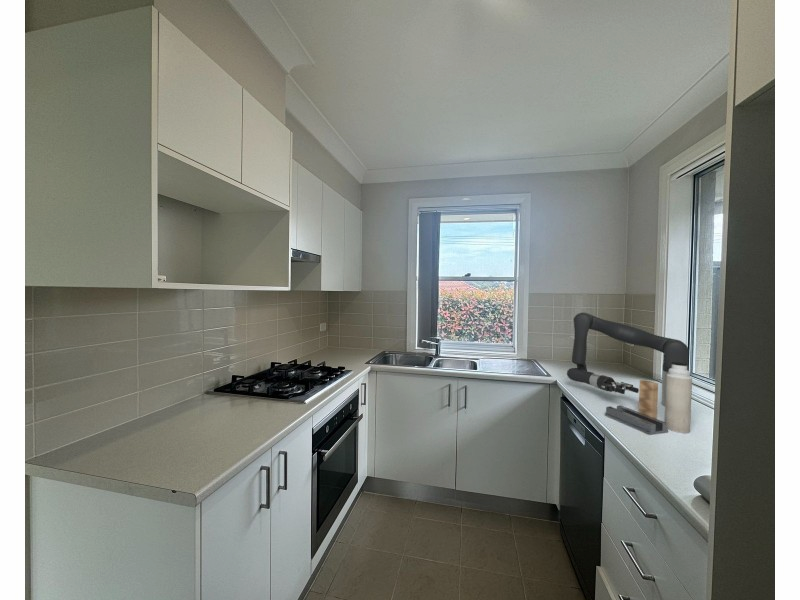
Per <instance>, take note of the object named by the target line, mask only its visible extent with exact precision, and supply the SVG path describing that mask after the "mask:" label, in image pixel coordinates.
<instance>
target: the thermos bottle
mask: <svg viewBox="0 0 800 600" xmlns="http://www.w3.org/2000/svg"><path fill="white" fill-rule="evenodd" d="M671 363H672V368H670V369H669V371H668V372H669V373H668V374H666V399H665V406H664V408H665V409H664V422H666V423H667V430H668V431H669V430H670V431H672V432H675V433H680V434H689V432H690V433H691V420H692V419H691V416H692V415H691V413H692V409H691V407H692V393H693V391H692V389H693V388H692V387H693V377H692V376H691V372H690V370H688V369H687V363H684V362H676V361H673V362H671Z"/></svg>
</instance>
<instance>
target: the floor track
mask: <svg viewBox="0 0 800 600" xmlns="http://www.w3.org/2000/svg"><path fill="white" fill-rule="evenodd" d="M604 416H605V417H608V418H610V419H612V420H614V421H616V422H618V423H621V424H624V425H625V426H628V427H630V428H632V429H634V430H637V431H639V432H641V433H644V434H646V435H648V436H651V435H660V434H667V433H669V429H667V423H666V422H665V420H661V419H658V418H657V419H656V418H653V417H650V416H648V415H645V414H642V413H640V412H639V411H638V410H635V409H632V408H629V407H626V406H624V405H622V404H621V405H620V404H619V405H616V408H615V407H613V406H612V405H611V406H606V407H605V413H604Z"/></svg>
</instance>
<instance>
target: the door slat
mask: <svg viewBox="0 0 800 600" xmlns="http://www.w3.org/2000/svg"><path fill="white" fill-rule="evenodd" d="M638 389H639V392H638V412H640V413H642V414H645V415H648V416H650V417H653V418H656V419H658V401H659V397H658V395H659V383H657V382H655V381H650V380H647V379H639V387H638Z"/></svg>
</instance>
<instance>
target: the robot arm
mask: <svg viewBox="0 0 800 600" xmlns="http://www.w3.org/2000/svg"><path fill="white" fill-rule="evenodd" d="M573 329H574V336H573V337H574V338H573V345H572V346H573V347H572V355H571V362H572V363H573V364H575V365H576V367H570V368H568V369H567V372H566V375H567V377H568V378H569V380H571V381H574V382H576V383H577V382H578V383H583V384H587V385H589V386H591V387H594V388H597V389H599V390H601V391H605V392H610V393H613V392H614V393H618V394H621V395H625V393H626V391H629V392H632V393H636V394H639V387H638V388H637V387H635V386H634V385H633V384H630V383H626V382H624V381H621V382H619V381H615V379H614V378H613V377H611V376H608V375H604V374H600V373H596V372H593V371H589V370H588V368H587V363H586V361H587V352H588V351H587V350H588V347H587V345H588V341H587V340H588V333H589V330H592V331H596V332H600V333H602V334H604V335H605V336H608V337H611V338H612V339H615V340H617V341H620V342H623V343H626V344H629V345H634V346H638V347H645V348H650V349H652V350H655V351H658V352H661V353H662V354H663V360H662V361H663V363H662V374H661V376H662V377H661V380H662V382H661V401H660V402H661V405H662V406H664V407H665V399H666V374H668V373H669V372H668V371H669V369H670V368H672V363H671V362H673V361H676V362H684V363H687V370H688V369H689V356H690V355H689V354H690V352H689V348H688V347H689V346H687V344H686V343H684V341H682V340H679V339H675V338H671V337H666V336H660V335H657V334H653V333H651V332H648V331H646V330H644V329H640V328H639V327H638V328H637V327H635V326H631V325H628V324H624V323H620V322H616V321H610V320H606V319H603V318H600V317H597V316H594V315H592V314H590V313H588V312H579V313H577V314H575V316H574V317H573Z"/></svg>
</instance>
